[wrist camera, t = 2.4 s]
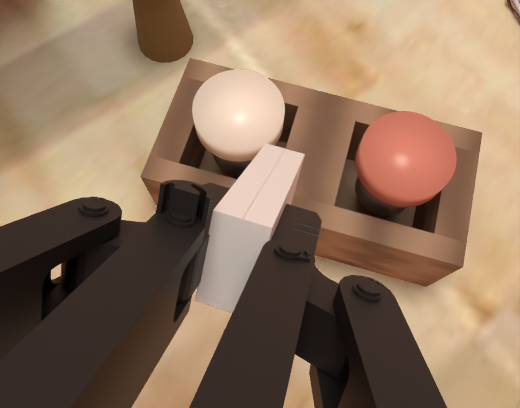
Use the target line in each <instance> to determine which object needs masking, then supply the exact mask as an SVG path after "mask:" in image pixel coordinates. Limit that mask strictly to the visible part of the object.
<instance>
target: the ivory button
mask: <svg viewBox="0 0 520 408" xmlns="http://www.w3.org/2000/svg"><path fill="white" fill-rule="evenodd" d="M192 114H193V120H194V124H195V129H196V132H197V136H198V138H199V140H200V142H201V143H202V145H203V146H204V147H205V148H206V149H207V150H208V151H209V152H211V153H212V154H213V157H214V160H215V162H216V163H217V165H218V166H219V167H220V168H221V169H222V170H223V171H225V172H227V173H229V174H231V175H236V176H240V175H241V174H242V173H243V172H244V170H245V169H246V168H247V167H248V165H249V164H250V163H251V161H252V160H253V159H254V158H255V156H256V155H257V154H258V153H259V151H260V150H261V149H262V147H263V146H264V145H265V144H266V143H267V144H270V145H274V146H275V145H276V143H277V142H278V140H279V138H280V136H281V133H282V130H283V123H284V114H285V104H284V100H283V97H282V94H281V92H280V91H279V89H278V88H277V86H276V85H275V84H274V83H273V82H272V81H271V80H269V79H268V78H267V77H265V76H263V75H261V74H259V73H257V72H254V71H249V70H242V69H235V70H228V71H224V72H221V73H218V74H216V75H214V76H212V77H211V78H209V79H208V80H207V81H206V82H204V83H203V85H202V86H201V87H200V88H199V90H198V91H197V93H196V95H195V97H194V100H193V105H192Z"/></svg>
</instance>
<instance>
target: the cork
mask: <svg viewBox="0 0 520 408" xmlns="http://www.w3.org/2000/svg"><path fill="white" fill-rule="evenodd" d="M133 7H134V14H135V21H136V28H137V35H138V42H139V46H140V49H141V51H142V52H143V54H144V55H145V56H146V57H148V58H149V59H151V60H153V61H157V62H172V61H175V60H178V59H180V58H182V57H183V56H185V55H186V54H187V53H188V51H189V50H190V49H191V46H192V44H193V35H192V32H191V29H190V27H189V24H188V21H187V18H186V16H185V13H184V10H183V8H182V5H181V2H180V0H133Z"/></svg>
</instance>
